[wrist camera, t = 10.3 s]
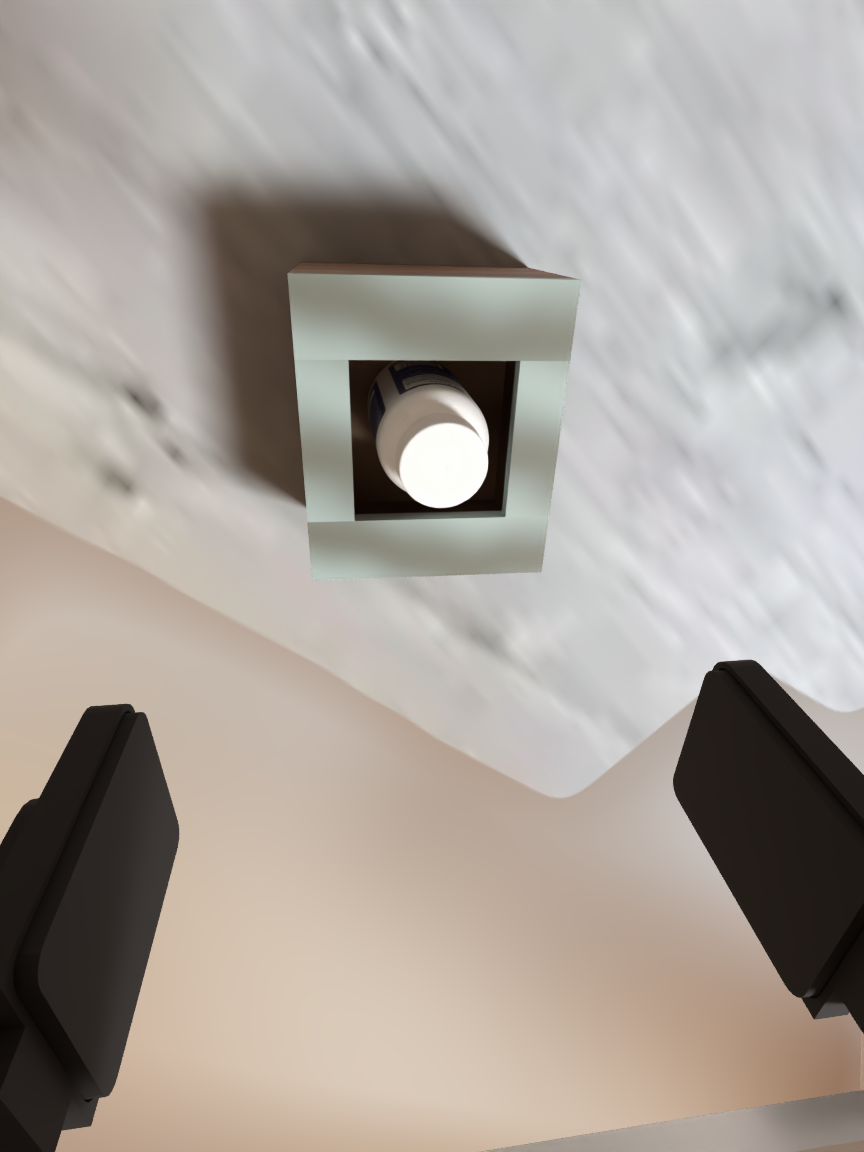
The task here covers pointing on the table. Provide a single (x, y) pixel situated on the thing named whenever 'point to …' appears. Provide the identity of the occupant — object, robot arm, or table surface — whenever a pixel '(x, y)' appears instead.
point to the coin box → (485, 370)
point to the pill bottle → (428, 432)
